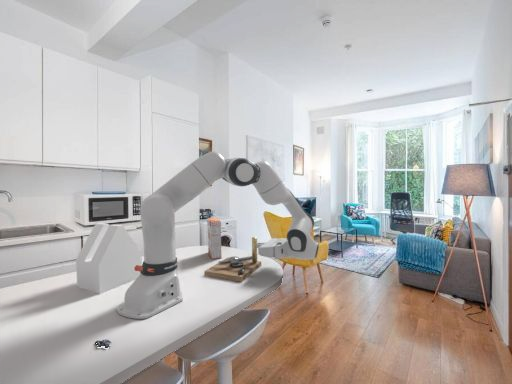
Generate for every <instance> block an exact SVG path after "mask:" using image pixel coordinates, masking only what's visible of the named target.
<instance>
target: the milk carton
mask: <svg viewBox="0 0 512 384" xmlns="http://www.w3.org/2000/svg"><path fill="white" fill-rule="evenodd" d="M81 247H82V248H81V249H80V251H79V253H78V255H77V257H76V258H75V267H76V271H75V272H76V287H77V286H78V287H77V288H79V289H80V288H81V289H82V290H83V289H84V290H87V291H89V292H92V293H96V294H99V295H101V294H104V293H107V292H108V291H111V290H113V289H115V288H116V289H117V288H118V287H121V286H124V285H126V284H128V283H131V282H134V281H135V280H136V278H137V277H138V276H139V275H140V272H139V271H135V269H134V267H135V266H136V265H139V266H142V264H143V260H142V259H143V257H142V256H143V255H142V250H141V249H140V248H139V247H138V245H137V243H136V242H135V240H134V239H133V238H132V236H131V235H130V233H129V232H128V230H127V229H126V228H125V226H124V225H121V224H109V223H105V222H97V223H95V224H94V225H93V227H92V229H91V232H90V233H89V235H88V237H87V238H86V240H85V242H84V244H83V246H81Z"/></svg>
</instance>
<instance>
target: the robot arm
mask: <svg viewBox="0 0 512 384" xmlns="http://www.w3.org/2000/svg"><path fill="white" fill-rule="evenodd" d="M220 179H222V180H223V181H225V182H226V183H229V184H230V185H233V186H235V187H236V186H238V187H247V186H250V185H252V186H253V187H254V188H255V190H256V192H257V193H258V195H259V197H260V198H261V200H263V202H264V203H265V204H267V205H270V206H277V205H280V204H282V205H283V206H284V207H285V208H286V210H287V211H288V213H289V214H290V216H291V224H290V226H289V227H288V230H287V232H286V238H285V237H280V238H277V237H274V238H271V239H270V240H268V241H266V242H257V244H256V248H257V255H259V256H261V257H266V258H274V259H275V260H281V259H284V258H285V259H286V258H287V259H297V260H302V261H303V260H305V261H309V260H310V261H311V260H316V258H317V257H318V252H319V247H320V245H319V242H317V241H316V240H314V238H313V237H312V234H311V233H312V231H313V228H314V226H315V220H314V218H313V216H312V215H311V214H310V213H309V212H308V211H306V210H305V209H304V207H303V206H302V205H301V203H300V202H299V201H298V199H297V198H296V196H295V195H294V193H293V192H292V191H291V190H290V189H289V188H288V187H286V185H285V184H284V183H283V181H282V179H281V177H280V175H279V174H278V172H277V171H276V170H275V169H274V167H273V166H272V165H271V164H270V163H269V162H268V161H264V160H261V161H257V162H253V161H252V160H250V159H248V158H246V157H245V158H244V157H233V158H228V159H226V158H225V157H224V156H223V155H222V154H221V153H219V152H218V151H215V150H214V151H212V150H211V151H209V152H207V153H205V154H203V155H201V156H199V157H198V158H197V159H195V160H193V161H192V162H191V163H189V164H188V165H187V166H186V167H184V168H182V170H181V171H179V172H178V173H177V174H175V175H173V177H171V178H170V179H169V180H168V181H167V182H165V183H164V184H163V185H161V186H160V187H159V188H157V189H156V190H155V191H154V192H152V193H150V194H149V195H148V196H146V197H145V198H144V199H143V200H142V201H141V203H140V209H139V210H140V211H139V212H140V225H141V231H142V239H143V260H142V266H139V265H136V266H135V267H134V269H135V271H139V272H140V275H139V276H138V277H137V278H136V280H133V281H132V283H131V284H130V285H129V287H128V288H127V289H126V291H125V293H124V294H125V295H124V299H123V301H124V302H123V303H121V304H120V305H118V306H117V307H116V313H117V314H118V315H121V316H123V317H126V318H130V319H137V320H139V319H141V320H143V319H148V318H150V317H152V316H154V315H157V314H158V313H160V312H163V311H165V310H166V309H169V308H170V307H172V306H175V305H177V304H179V303H180V302H182V301H183V298H184V297H183V296H182V291H181V285H180V279H179V275H178V271H177V269H178V257H177V256H176V255H177V254H176V253H177V251H176V222H175V219H176V218H175V213H176V212H178V211H179V210H180V209H181V208H183V207H184V206H186V205H187V204H188V203H190V202H192V201H193V200H194V199H195V198H197V197H198V196H200V194H202V193H203V192H204V191H205V190H207V189H208V188H209V187H211V186H212V184H215V182H216V181H218V180H220Z"/></svg>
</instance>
